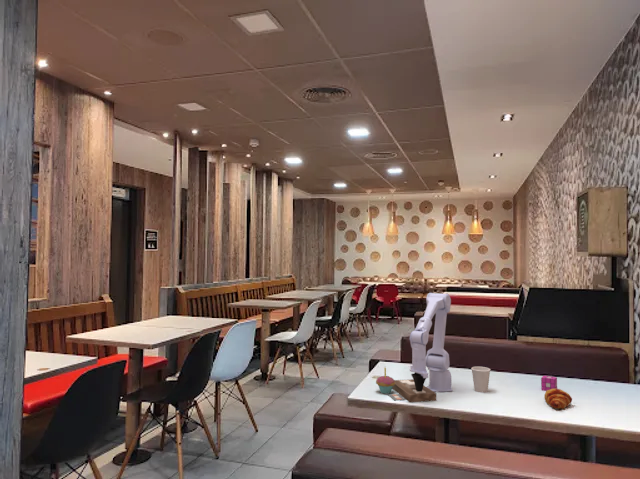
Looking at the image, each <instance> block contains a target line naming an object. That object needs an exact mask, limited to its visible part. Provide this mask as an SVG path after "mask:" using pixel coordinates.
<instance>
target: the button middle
mask: <svg viewBox="0 0 640 479" xmlns="http://www.w3.org/2000/svg"><path fill="white" fill-rule="evenodd" d="M406 387H408V388H416V387H415V383H414V382H406Z"/></svg>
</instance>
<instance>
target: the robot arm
mask: <svg viewBox="0 0 640 479" xmlns="http://www.w3.org/2000/svg"><path fill="white" fill-rule="evenodd" d="M451 305H452V299H451V296H450V294H449V293H436V292H435V293H434V292H429V293H427V295H426V308H425V311H424V314H423V316H422V317H420V318H419V320H418V323H417V324H416V327H415V329H414V330H412V331H411V332H410V334H409V343H410V348H411V352H412V353H411V355H412V356H411V357H412V359H411V361H412V363H411V364H412V365H410V369H409V372H411V374H410V375H411V377H412V379H413V380H414V383H415V387H416V391H422V389H423V385H424V386H425V382H426V380H427V379H428V378H429V384H428V386H425V387H427V388H428V389H430V390H432V391H433V392H435V393H440V392H453V389H452V373H451V371H450V370H449V368H450V354H449V353H448V351H447V350H445V349H444V346H445V340H446V338H445V336H446V329H447V328H446V326H447V318H448V317H447V315H448V313H449V312H451ZM434 316H435V318H434ZM433 318H434V320H435V321H434V327H433V328H434V329H433V339H432V341H433V342H432V348H429V349H428V350H426V349H427V347H426V345H427V344H428V342H429V336H430V333H429V332H430V330H431V328H432V326H433V321H432V319H433ZM428 370H429V372H428Z"/></svg>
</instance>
